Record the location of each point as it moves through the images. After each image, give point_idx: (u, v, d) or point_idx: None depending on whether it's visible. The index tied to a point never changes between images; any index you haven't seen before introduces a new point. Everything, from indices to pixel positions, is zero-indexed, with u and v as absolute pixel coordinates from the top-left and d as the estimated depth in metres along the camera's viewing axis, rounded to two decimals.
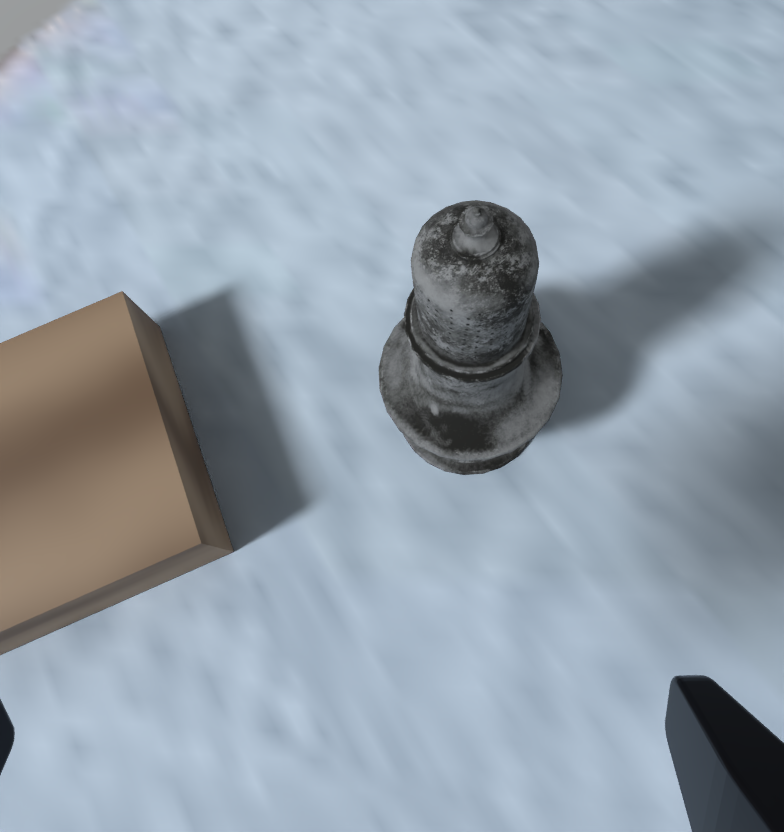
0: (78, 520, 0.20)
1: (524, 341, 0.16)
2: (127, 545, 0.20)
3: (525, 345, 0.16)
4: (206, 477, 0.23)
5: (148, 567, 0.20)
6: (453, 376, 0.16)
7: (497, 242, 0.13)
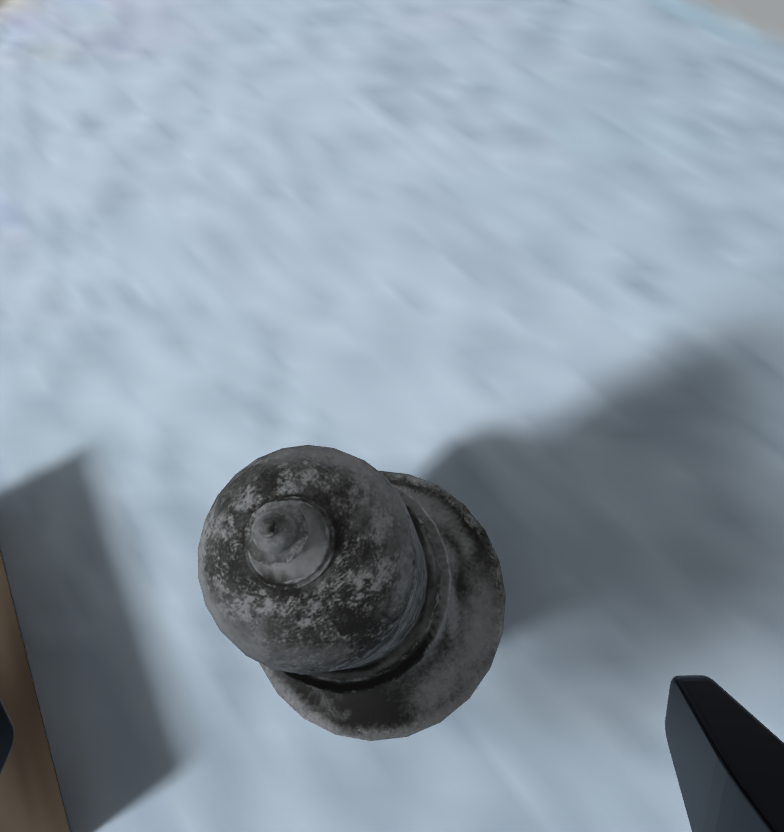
0: None
1: (425, 621, 0.10)
2: None
3: (428, 628, 0.10)
4: (37, 734, 0.17)
5: None
6: (317, 685, 0.10)
7: (327, 551, 0.07)
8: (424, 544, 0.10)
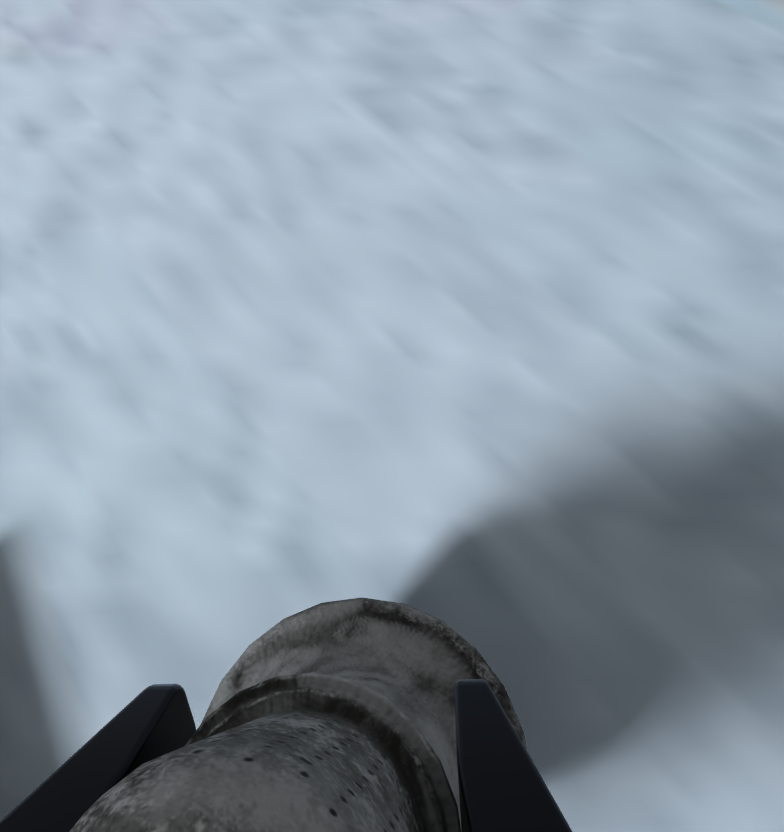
0: None
1: None
2: None
3: None
4: None
5: None
6: None
7: None
8: (423, 804, 0.07)
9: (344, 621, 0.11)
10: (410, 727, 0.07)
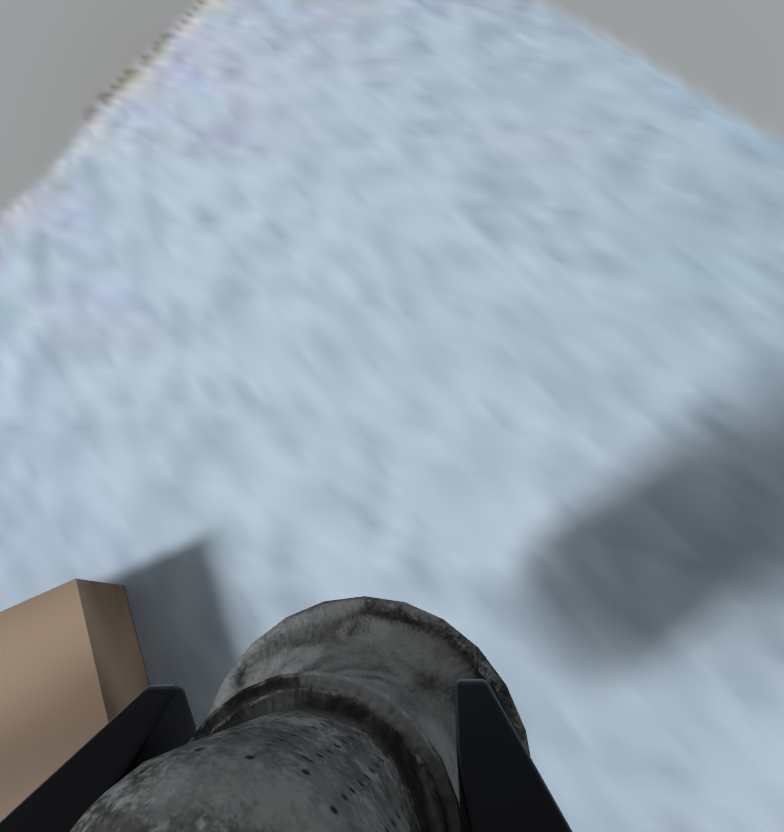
0: None
1: None
2: None
3: None
4: None
5: None
6: None
7: None
8: (425, 803, 0.07)
9: (346, 620, 0.11)
10: (412, 726, 0.07)
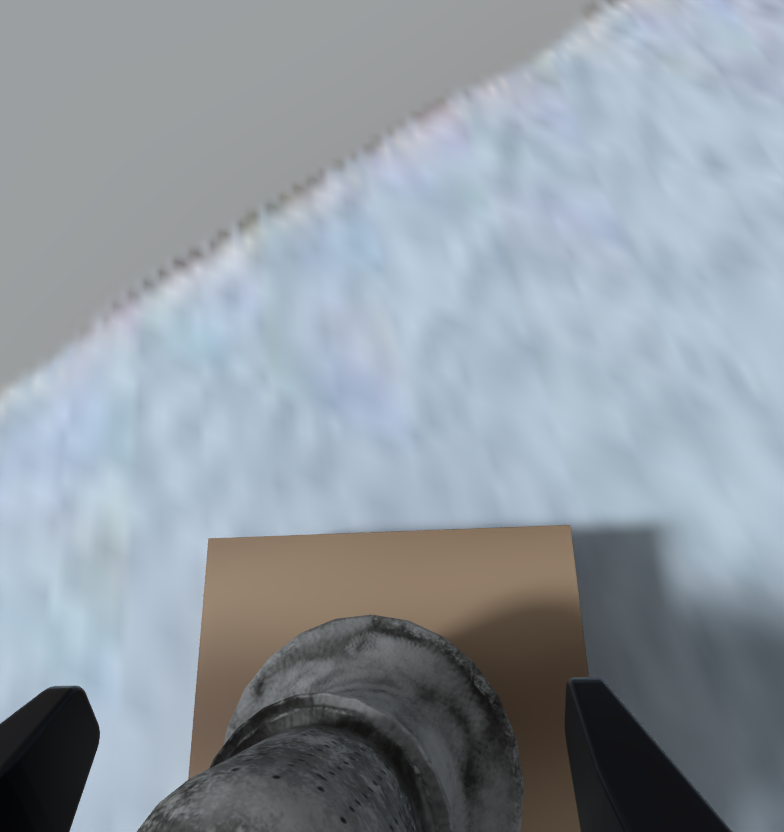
0: None
1: None
2: None
3: None
4: None
5: None
6: None
7: None
8: (421, 807, 0.08)
9: (355, 636, 0.12)
10: (410, 741, 0.08)
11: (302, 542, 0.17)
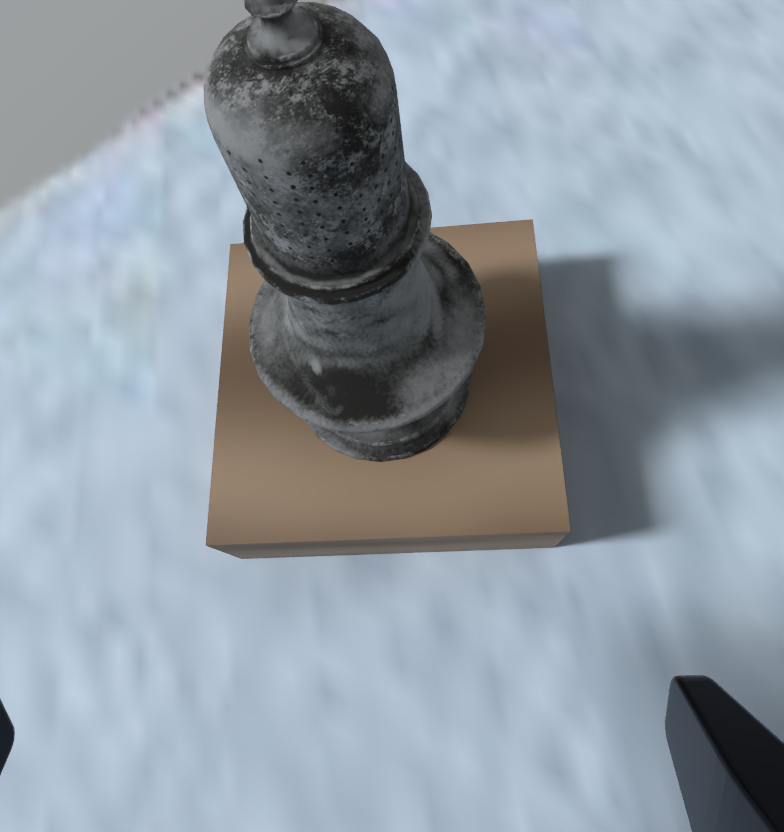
0: (430, 451, 0.17)
1: (407, 240, 0.11)
2: (481, 500, 0.17)
3: (409, 246, 0.11)
4: None
5: (499, 534, 0.17)
6: (310, 296, 0.11)
7: (317, 39, 0.08)
8: (407, 183, 0.11)
9: None
10: None
11: None
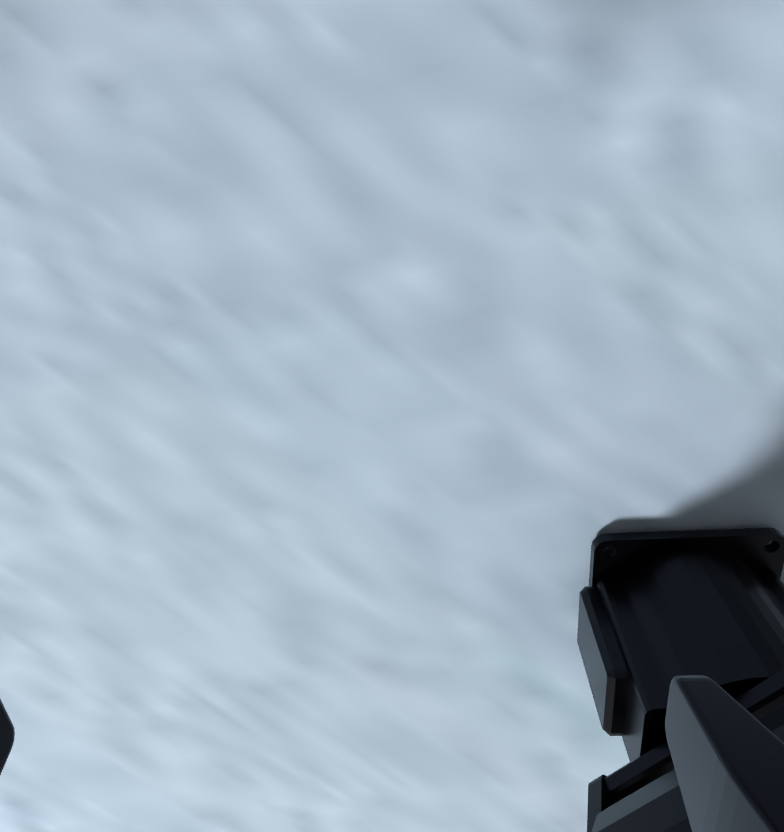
0: None
1: None
2: None
3: None
4: None
5: None
6: None
7: None
8: None
9: None
10: None
11: None
